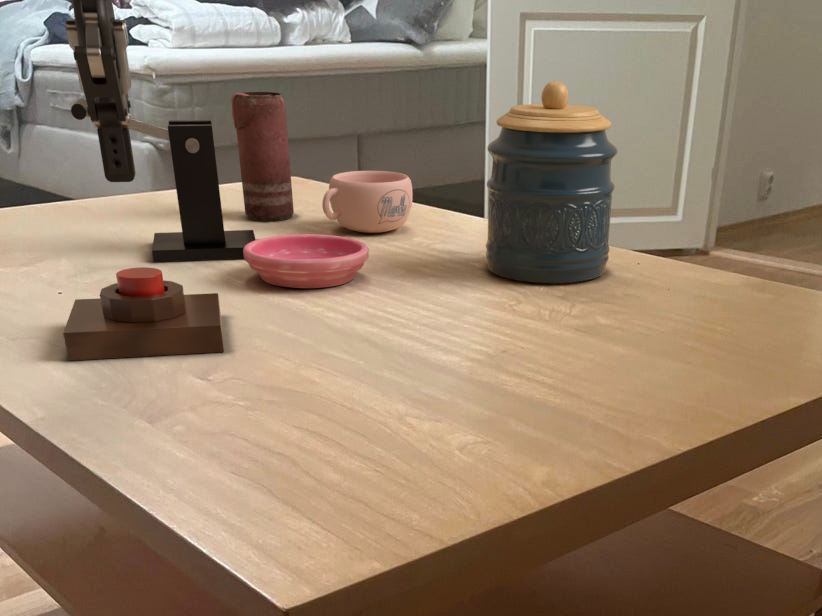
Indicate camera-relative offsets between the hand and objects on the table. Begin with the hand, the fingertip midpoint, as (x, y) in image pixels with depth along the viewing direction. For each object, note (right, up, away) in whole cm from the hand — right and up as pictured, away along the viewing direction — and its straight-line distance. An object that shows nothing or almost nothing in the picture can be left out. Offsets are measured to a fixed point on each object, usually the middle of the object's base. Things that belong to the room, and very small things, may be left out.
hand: (121, 180), depth 78 cm
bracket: (-3, +7, +33) cm, 34 cm away
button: (0, -7, +4) cm, 9 cm away
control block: (0, -10, +6) cm, 12 cm away
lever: (-7, +16, +26) cm, 32 cm away
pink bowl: (+10, +1, +24) cm, 26 cm away
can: (+1, +18, +50) cm, 53 cm away
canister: (+35, +3, +28) cm, 45 cm away
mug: (+14, +13, +44) cm, 48 cm away
